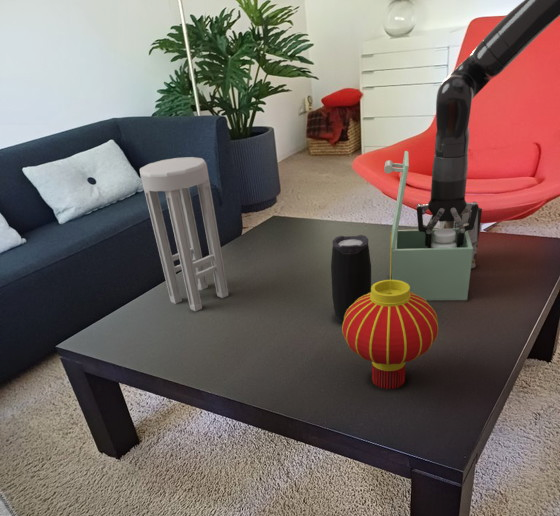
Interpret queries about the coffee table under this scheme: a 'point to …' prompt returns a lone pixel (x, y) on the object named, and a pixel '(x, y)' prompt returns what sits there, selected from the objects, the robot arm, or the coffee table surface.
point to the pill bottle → (444, 239)
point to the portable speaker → (349, 272)
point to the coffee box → (472, 233)
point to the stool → (184, 226)
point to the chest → (432, 266)
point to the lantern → (390, 327)
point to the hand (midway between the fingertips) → (443, 246)
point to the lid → (404, 171)
